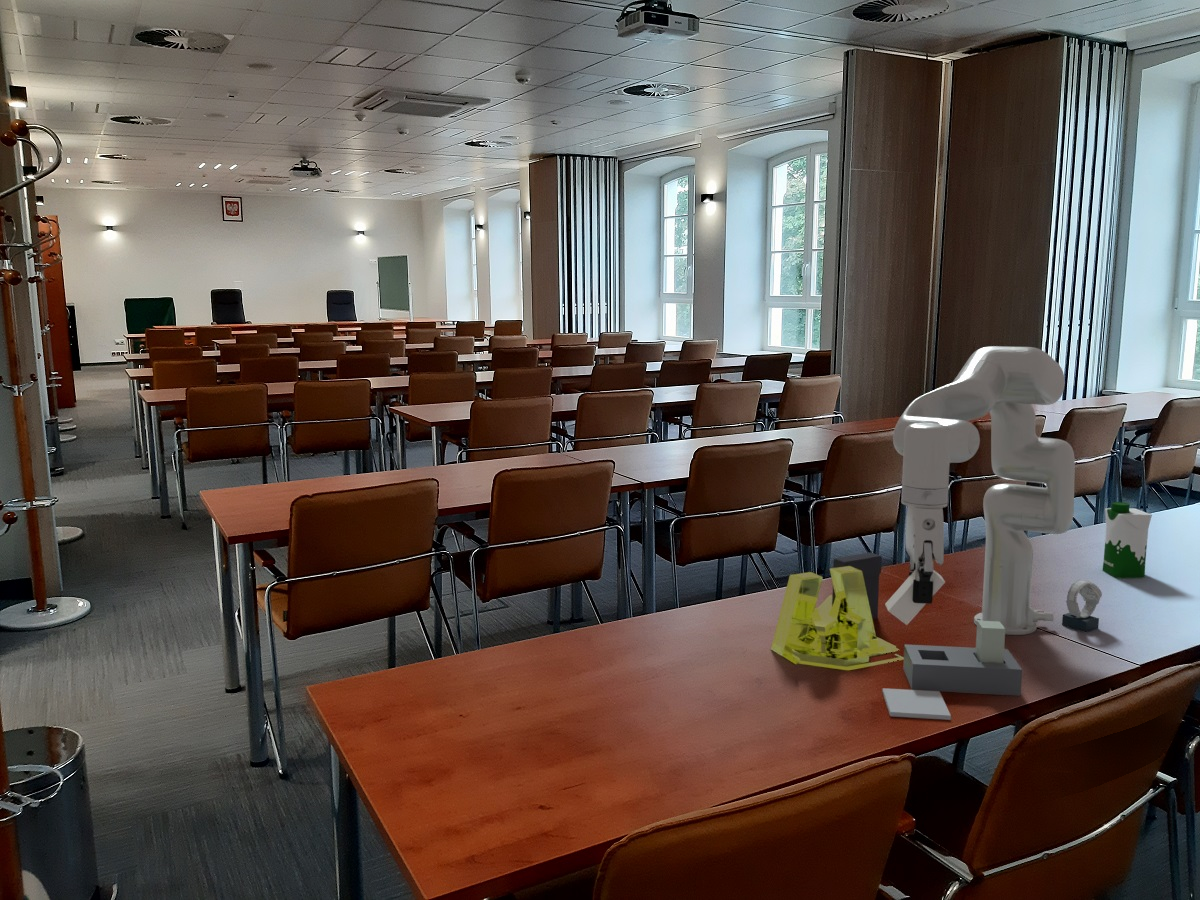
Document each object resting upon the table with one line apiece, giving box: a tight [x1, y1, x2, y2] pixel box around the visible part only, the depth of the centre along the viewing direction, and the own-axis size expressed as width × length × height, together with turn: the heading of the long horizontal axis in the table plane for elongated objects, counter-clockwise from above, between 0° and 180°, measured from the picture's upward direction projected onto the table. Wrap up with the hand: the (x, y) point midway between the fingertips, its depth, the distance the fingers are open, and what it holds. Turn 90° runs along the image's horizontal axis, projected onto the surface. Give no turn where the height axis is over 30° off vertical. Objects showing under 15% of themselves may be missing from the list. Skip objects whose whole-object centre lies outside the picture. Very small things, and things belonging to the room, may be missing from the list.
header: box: [902, 644, 1023, 697], centre depth 172 cm, size 19×10×5 cm, turn 80°
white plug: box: [884, 562, 946, 626], centre depth 159 cm, size 4×4×10 cm
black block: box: [831, 552, 883, 620], centre depth 205 cm, size 11×4×15 cm, turn 116°
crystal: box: [770, 566, 904, 671], centre depth 187 cm, size 18×25×16 cm
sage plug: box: [975, 621, 1006, 663], centre depth 171 cm, size 4×4×10 cm
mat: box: [882, 688, 952, 721], centre depth 162 cm, size 10×10×1 cm
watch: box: [1061, 579, 1103, 633], centre depth 198 cm, size 6×8×11 cm
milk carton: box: [1102, 501, 1153, 579], centre depth 233 cm, size 9×9×20 cm
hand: (919, 597), depth 159 cm, fingers closed on white plug, 4 cm apart
